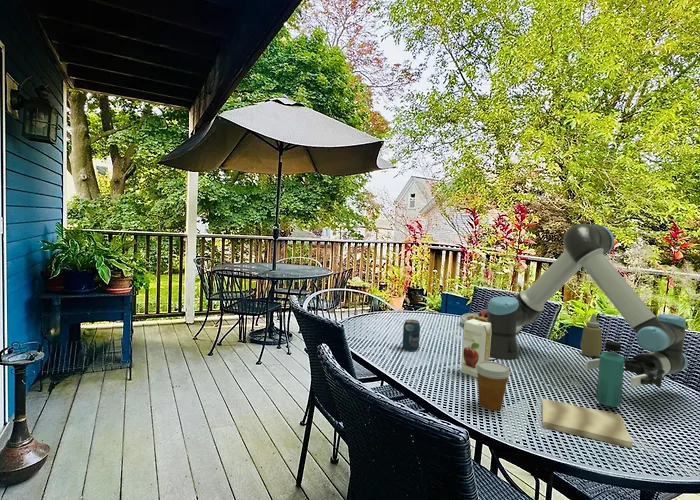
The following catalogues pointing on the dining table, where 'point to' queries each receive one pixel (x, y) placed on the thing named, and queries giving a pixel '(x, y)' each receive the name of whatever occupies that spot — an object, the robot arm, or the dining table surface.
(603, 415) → the birch board
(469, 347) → the juice carton
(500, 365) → the disposable coffee cup
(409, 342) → the soda can
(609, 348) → the beverage bottle
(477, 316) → the bowl
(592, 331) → the squeeze bottle
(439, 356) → the dining table surface
